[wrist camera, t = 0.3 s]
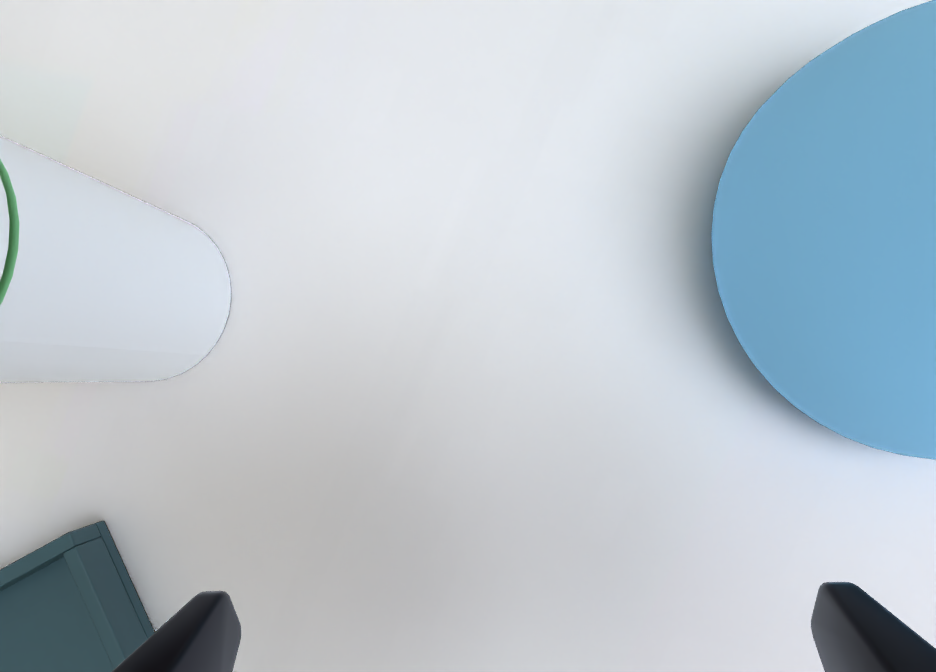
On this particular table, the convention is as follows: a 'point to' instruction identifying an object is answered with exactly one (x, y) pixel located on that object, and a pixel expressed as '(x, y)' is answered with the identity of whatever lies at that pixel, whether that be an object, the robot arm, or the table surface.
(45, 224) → the cylindrical container
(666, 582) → the table surface
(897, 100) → the sugar bowl
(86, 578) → the tray
